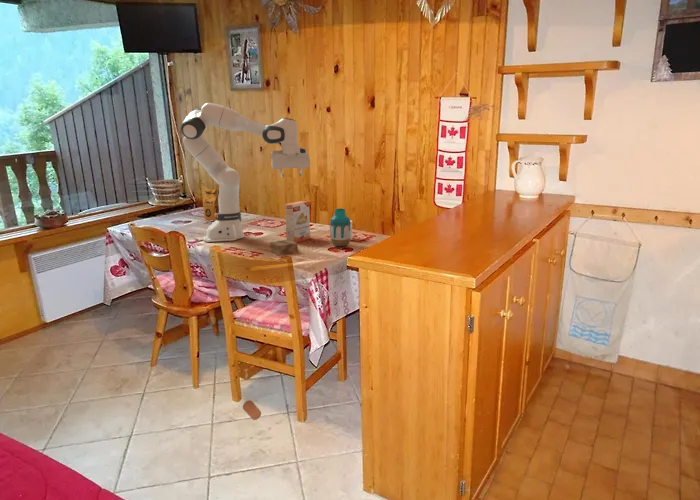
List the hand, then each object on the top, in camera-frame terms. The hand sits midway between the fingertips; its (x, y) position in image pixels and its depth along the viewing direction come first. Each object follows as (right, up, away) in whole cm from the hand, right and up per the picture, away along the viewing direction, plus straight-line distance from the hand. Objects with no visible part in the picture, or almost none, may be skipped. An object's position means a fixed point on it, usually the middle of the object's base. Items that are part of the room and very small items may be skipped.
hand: (291, 176), depth 268 cm
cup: (+27, -33, +8) cm, 44 cm away
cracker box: (+3, -34, +8) cm, 35 cm away
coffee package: (-57, -21, +65) cm, 89 cm away
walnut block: (-2, -40, -15) cm, 42 cm away
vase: (+26, -37, -5) cm, 45 cm away
